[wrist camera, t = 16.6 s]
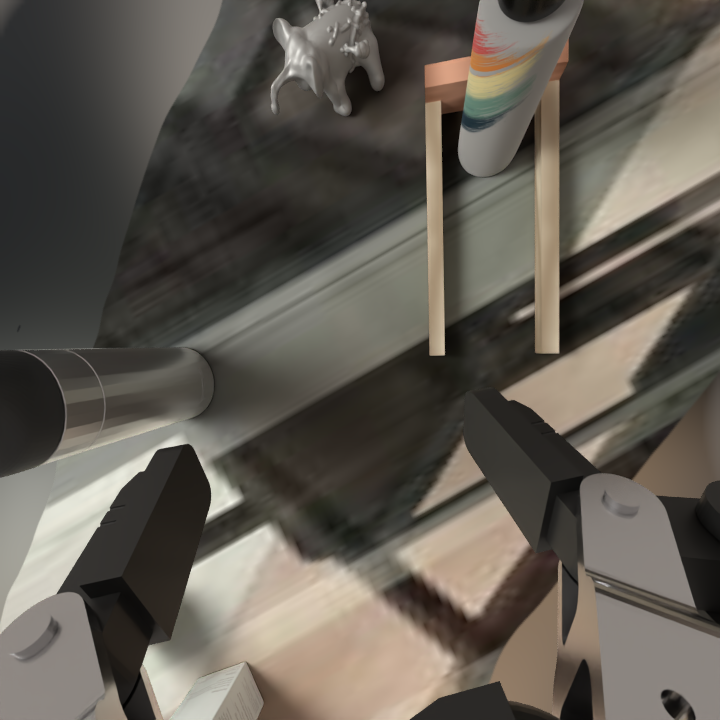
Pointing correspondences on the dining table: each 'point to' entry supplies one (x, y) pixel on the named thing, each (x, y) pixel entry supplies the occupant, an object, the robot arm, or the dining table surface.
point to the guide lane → (449, 96)
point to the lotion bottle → (509, 76)
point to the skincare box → (222, 697)
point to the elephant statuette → (328, 52)
